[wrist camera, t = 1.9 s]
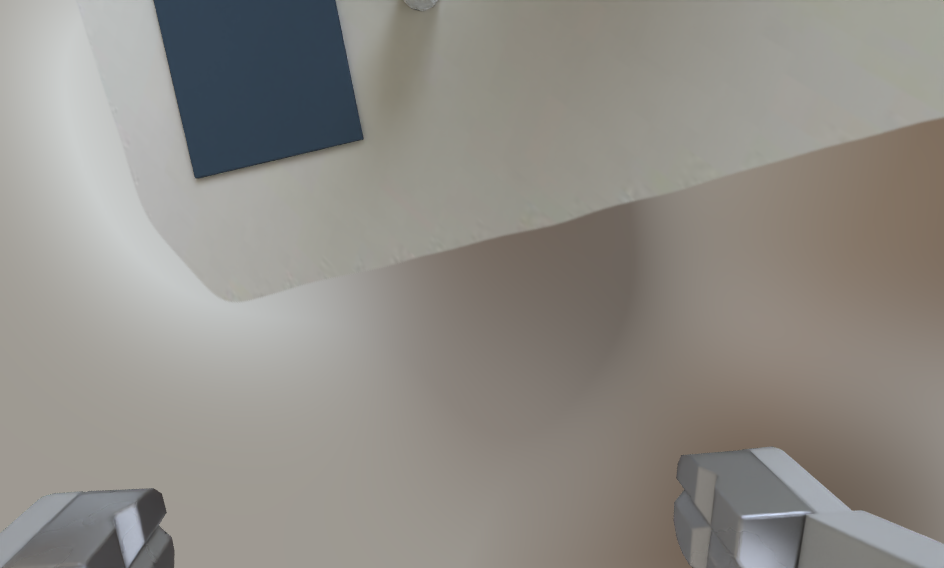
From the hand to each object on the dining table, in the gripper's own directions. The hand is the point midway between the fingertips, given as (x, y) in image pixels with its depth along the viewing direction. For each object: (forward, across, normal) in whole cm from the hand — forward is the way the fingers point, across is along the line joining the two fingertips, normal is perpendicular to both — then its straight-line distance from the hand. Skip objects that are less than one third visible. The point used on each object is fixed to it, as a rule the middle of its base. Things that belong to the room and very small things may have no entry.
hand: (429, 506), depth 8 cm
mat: (+42, +15, -15) cm, 47 cm away
